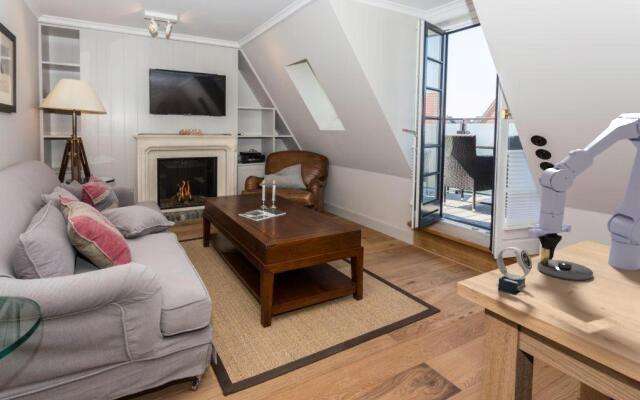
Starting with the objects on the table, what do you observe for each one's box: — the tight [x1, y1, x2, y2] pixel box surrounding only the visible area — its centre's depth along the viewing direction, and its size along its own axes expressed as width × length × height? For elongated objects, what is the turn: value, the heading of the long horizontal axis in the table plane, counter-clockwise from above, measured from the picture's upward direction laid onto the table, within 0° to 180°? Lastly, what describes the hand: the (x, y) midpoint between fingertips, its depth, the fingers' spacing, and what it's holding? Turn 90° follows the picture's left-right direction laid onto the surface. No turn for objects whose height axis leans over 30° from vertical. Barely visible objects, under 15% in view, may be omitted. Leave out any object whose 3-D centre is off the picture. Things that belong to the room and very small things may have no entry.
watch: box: [496, 246, 533, 296], centre depth 102 cm, size 6×8×11 cm
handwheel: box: [536, 247, 594, 282], centre depth 111 cm, size 13×13×6 cm
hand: (546, 258), depth 115 cm, fingers closed
